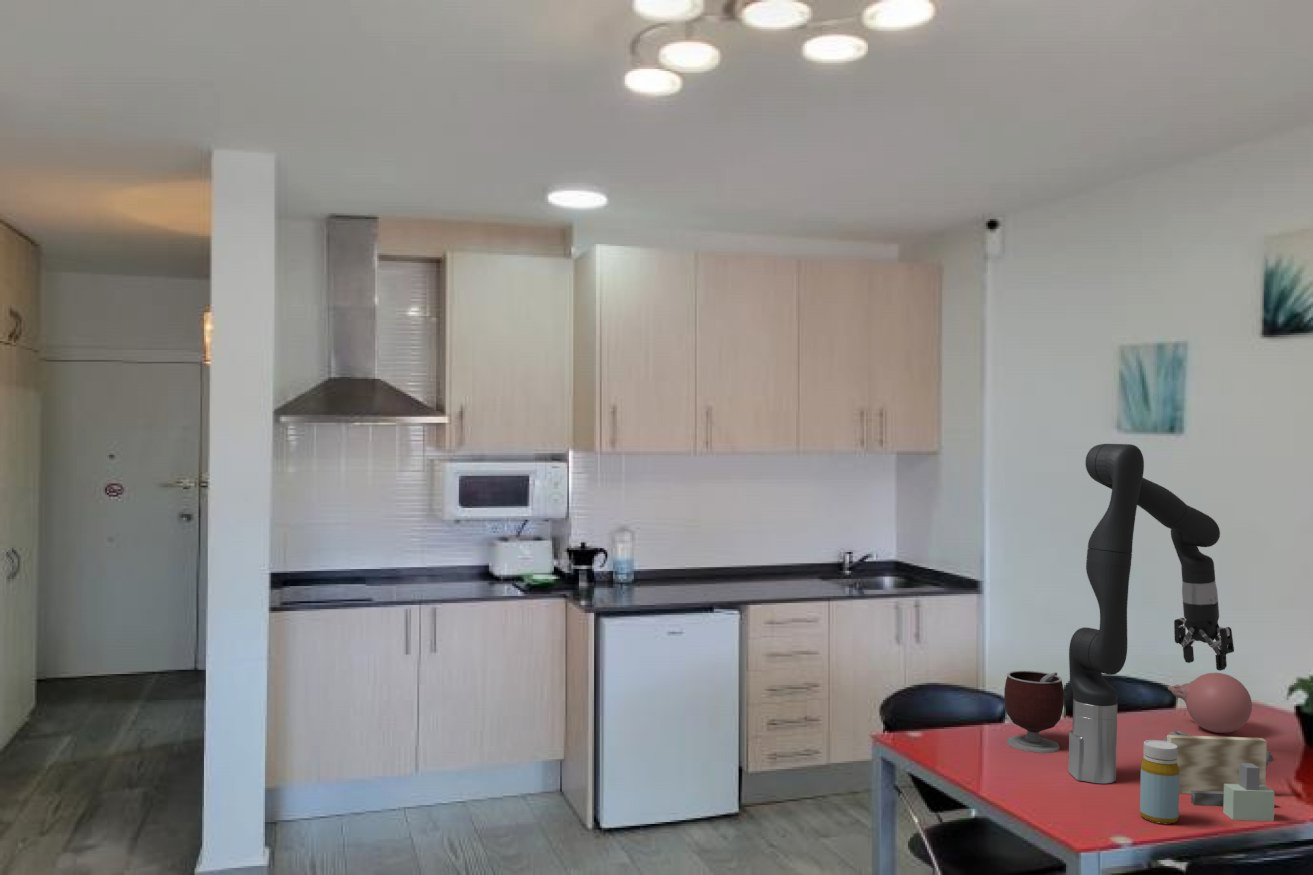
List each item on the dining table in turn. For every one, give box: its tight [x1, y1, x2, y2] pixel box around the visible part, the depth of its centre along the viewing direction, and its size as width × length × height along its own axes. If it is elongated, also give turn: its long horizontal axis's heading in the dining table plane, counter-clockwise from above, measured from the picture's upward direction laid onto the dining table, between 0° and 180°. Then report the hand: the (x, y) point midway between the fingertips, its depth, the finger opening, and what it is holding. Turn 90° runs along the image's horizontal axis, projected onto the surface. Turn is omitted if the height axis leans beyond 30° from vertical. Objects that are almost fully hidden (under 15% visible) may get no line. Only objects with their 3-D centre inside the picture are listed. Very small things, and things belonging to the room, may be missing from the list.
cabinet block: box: [1222, 763, 1275, 822], centre depth 215 cm, size 8×4×10 cm, turn 87°
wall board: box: [1166, 734, 1267, 807], centre depth 225 cm, size 20×9×12 cm, turn 87°
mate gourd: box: [1003, 670, 1065, 754], centre depth 261 cm, size 16×14×20 cm
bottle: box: [1139, 739, 1180, 825], centre depth 213 cm, size 7×7×15 cm
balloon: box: [1167, 672, 1253, 734], centre depth 278 cm, size 15×20×15 cm
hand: (1205, 665), depth 253 cm, fingers open, 8 cm apart
